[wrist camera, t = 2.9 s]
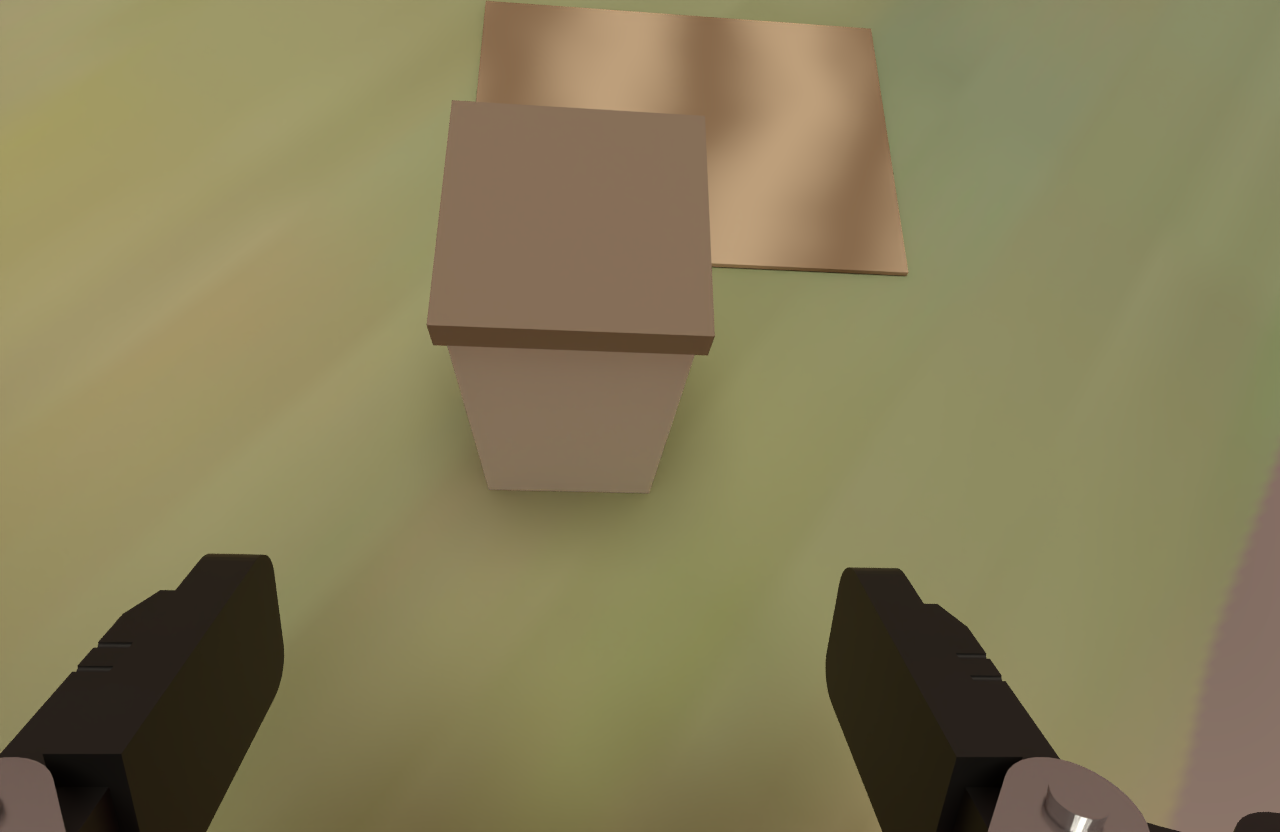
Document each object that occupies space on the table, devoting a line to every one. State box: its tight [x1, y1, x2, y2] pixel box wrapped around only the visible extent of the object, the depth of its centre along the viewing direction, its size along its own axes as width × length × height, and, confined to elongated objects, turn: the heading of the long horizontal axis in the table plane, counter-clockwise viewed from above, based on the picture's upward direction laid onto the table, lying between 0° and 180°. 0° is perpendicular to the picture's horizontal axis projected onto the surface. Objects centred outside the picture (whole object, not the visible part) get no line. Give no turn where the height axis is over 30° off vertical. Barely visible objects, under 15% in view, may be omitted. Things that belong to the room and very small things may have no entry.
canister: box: [427, 100, 715, 493], centre depth 21 cm, size 5×5×11 cm
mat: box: [476, 1, 908, 276], centre depth 31 cm, size 16×12×1 cm
